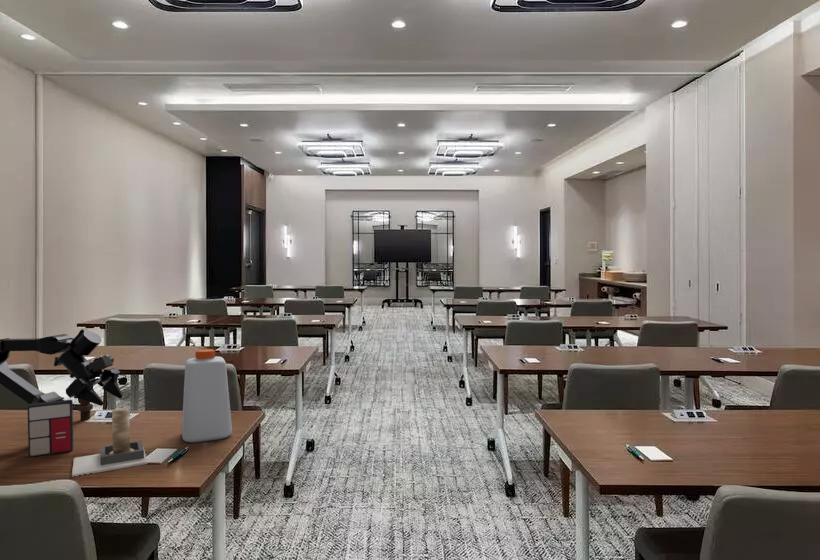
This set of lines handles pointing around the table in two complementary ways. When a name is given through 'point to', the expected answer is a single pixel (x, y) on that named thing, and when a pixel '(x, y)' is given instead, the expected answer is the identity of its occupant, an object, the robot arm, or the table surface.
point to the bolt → (84, 409)
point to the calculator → (50, 427)
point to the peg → (121, 431)
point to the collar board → (109, 460)
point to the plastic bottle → (206, 398)
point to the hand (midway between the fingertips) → (112, 401)
